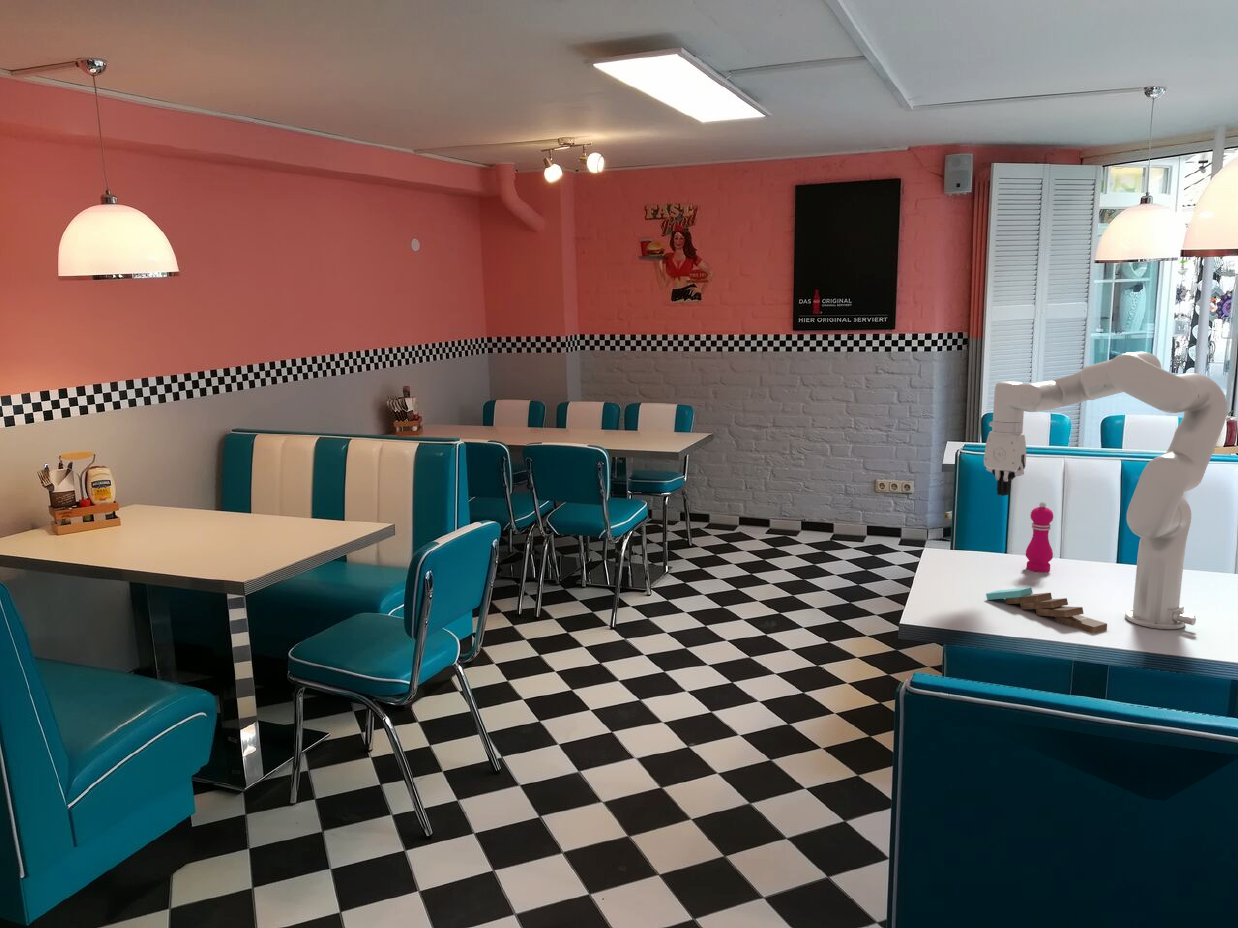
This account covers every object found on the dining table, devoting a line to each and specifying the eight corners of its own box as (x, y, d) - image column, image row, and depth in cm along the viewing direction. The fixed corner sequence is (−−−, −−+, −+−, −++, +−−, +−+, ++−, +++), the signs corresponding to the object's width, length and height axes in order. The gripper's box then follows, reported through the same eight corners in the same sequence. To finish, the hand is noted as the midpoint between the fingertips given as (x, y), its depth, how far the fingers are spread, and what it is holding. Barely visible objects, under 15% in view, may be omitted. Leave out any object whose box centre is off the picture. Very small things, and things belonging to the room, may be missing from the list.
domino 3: (1036, 606, 232) (1068, 604, 223) (1021, 609, 230) (1053, 607, 221) (1034, 600, 232) (1066, 598, 223) (1020, 603, 230) (1051, 601, 221)
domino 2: (1019, 601, 237) (1052, 598, 228) (1006, 604, 235) (1038, 601, 226) (1018, 595, 237) (1050, 592, 228) (1004, 597, 235) (1036, 595, 226)
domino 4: (1053, 612, 227) (1083, 613, 218) (1036, 615, 226) (1066, 617, 216) (1051, 605, 228) (1082, 607, 218) (1035, 608, 226) (1065, 610, 217)
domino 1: (999, 596, 241) (1032, 593, 232) (987, 599, 238) (1021, 596, 230) (997, 590, 241) (1031, 587, 233) (985, 593, 238) (1019, 590, 230)
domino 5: (1068, 618, 224) (1106, 630, 216) (1055, 621, 222) (1093, 633, 213) (1069, 611, 224) (1107, 623, 215) (1055, 615, 222) (1093, 626, 213)
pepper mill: (1046, 565, 268) (1051, 499, 265) (1055, 572, 261) (1060, 504, 258) (1021, 565, 269) (1025, 499, 266) (1029, 572, 262) (1034, 504, 259)
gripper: (974, 426, 249) (970, 491, 252) (1024, 431, 236) (1020, 501, 239) (991, 423, 253) (987, 488, 256) (1041, 429, 240) (1036, 497, 243)
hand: (1003, 494), depth 248 cm, fingers closed
